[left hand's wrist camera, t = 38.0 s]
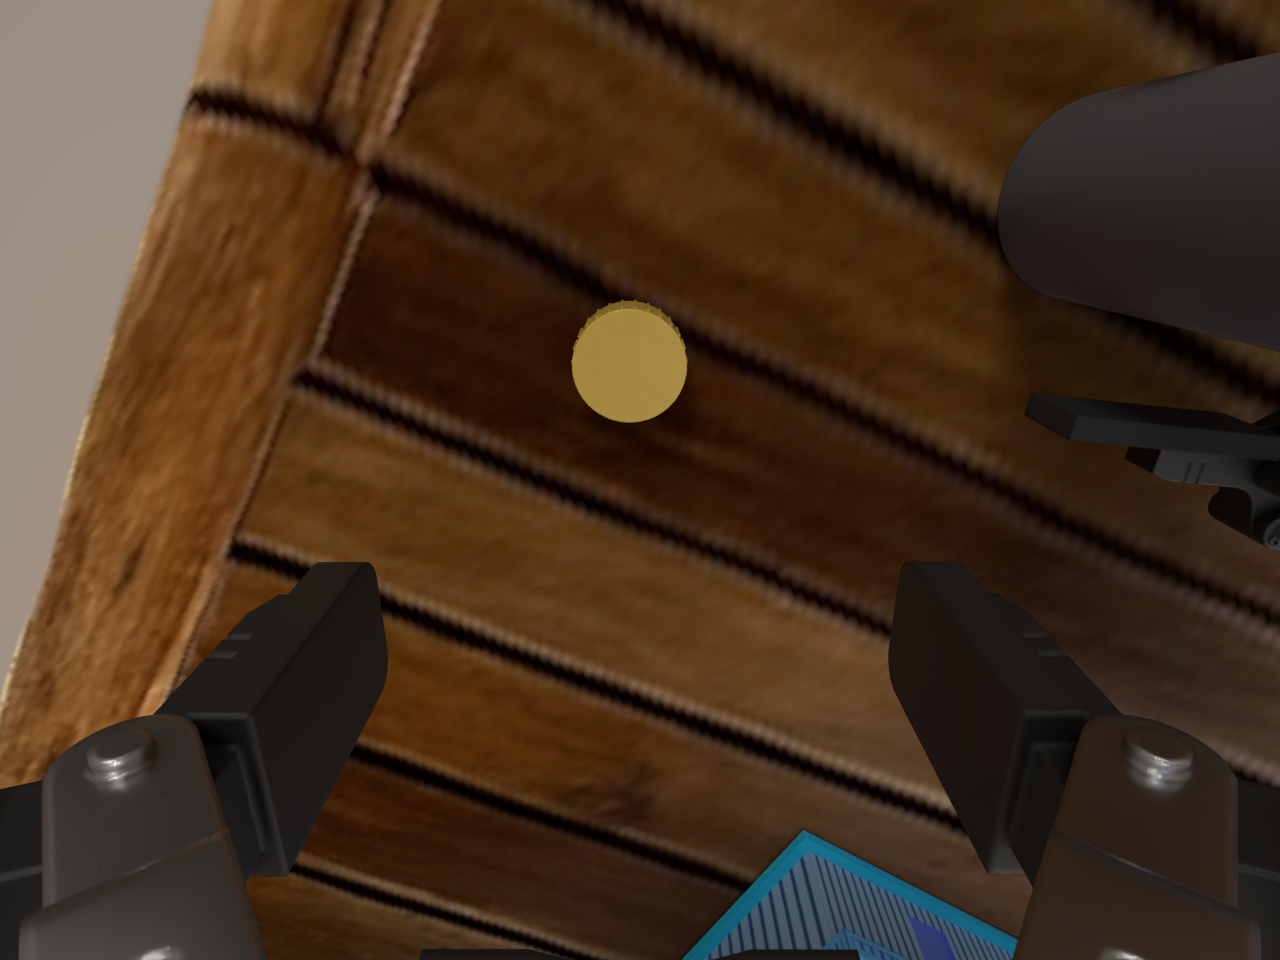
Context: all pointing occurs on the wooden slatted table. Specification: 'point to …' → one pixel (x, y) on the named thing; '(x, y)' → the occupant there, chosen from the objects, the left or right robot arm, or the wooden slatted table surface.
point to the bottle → (1158, 202)
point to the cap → (629, 362)
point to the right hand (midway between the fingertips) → (1119, 187)
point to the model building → (847, 913)
